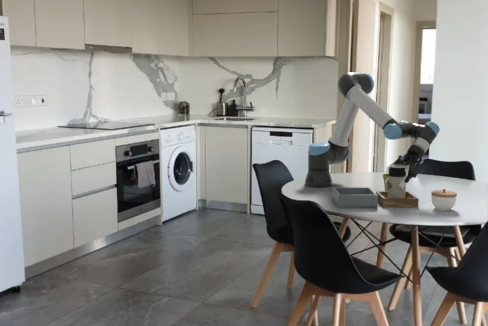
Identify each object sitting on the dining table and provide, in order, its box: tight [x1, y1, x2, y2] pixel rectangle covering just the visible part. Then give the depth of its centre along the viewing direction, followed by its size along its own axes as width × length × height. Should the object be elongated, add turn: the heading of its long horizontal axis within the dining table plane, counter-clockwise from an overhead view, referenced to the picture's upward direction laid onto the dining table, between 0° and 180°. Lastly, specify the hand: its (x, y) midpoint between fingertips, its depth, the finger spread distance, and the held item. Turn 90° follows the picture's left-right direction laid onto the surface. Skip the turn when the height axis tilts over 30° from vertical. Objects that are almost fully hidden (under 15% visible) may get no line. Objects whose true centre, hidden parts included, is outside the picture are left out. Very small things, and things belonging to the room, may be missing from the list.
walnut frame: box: [375, 190, 420, 208], centre depth 254 cm, size 16×16×4 cm
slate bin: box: [332, 186, 379, 209], centre depth 253 cm, size 18×18×6 cm
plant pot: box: [381, 173, 389, 191], centre depth 280 cm, size 9×9×9 cm
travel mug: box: [388, 164, 407, 198], centre depth 253 cm, size 8×8×18 cm
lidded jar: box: [430, 188, 458, 212], centre depth 241 cm, size 11×11×9 cm
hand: (393, 185), depth 251 cm, fingers closed on travel mug, 8 cm apart
